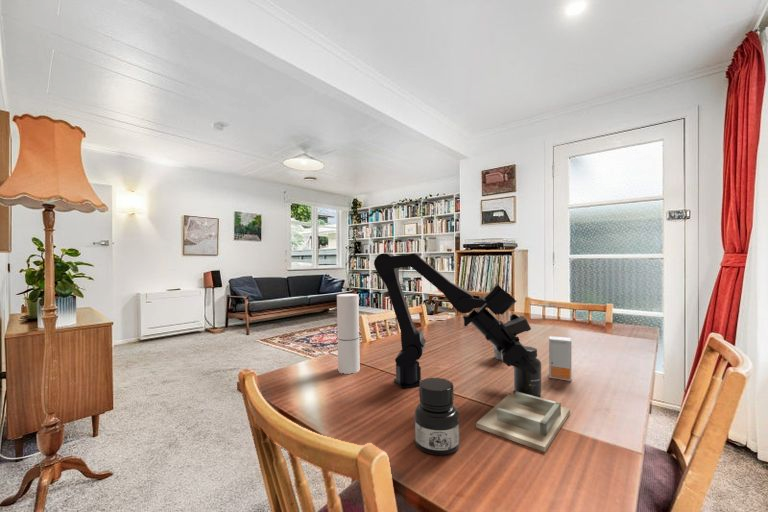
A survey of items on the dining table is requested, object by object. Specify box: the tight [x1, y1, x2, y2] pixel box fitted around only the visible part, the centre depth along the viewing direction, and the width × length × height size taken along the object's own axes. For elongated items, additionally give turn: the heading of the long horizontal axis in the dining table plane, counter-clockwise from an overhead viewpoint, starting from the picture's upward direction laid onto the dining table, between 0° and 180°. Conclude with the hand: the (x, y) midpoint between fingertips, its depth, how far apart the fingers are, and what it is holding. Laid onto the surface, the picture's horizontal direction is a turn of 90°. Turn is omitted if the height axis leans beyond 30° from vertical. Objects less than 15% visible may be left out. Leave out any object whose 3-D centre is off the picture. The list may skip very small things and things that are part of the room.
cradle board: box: [475, 391, 571, 453], centre depth 74 cm, size 14×20×4 cm
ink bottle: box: [414, 377, 460, 456], centre depth 66 cm, size 10×9×12 cm
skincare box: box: [548, 335, 572, 382], centre depth 99 cm, size 6×4×12 cm
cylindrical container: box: [336, 293, 361, 375], centre depth 108 cm, size 7×7×25 cm
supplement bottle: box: [513, 345, 542, 397], centre depth 89 cm, size 7×7×12 cm
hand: (532, 368), depth 89 cm, fingers closed on supplement bottle, 7 cm apart
